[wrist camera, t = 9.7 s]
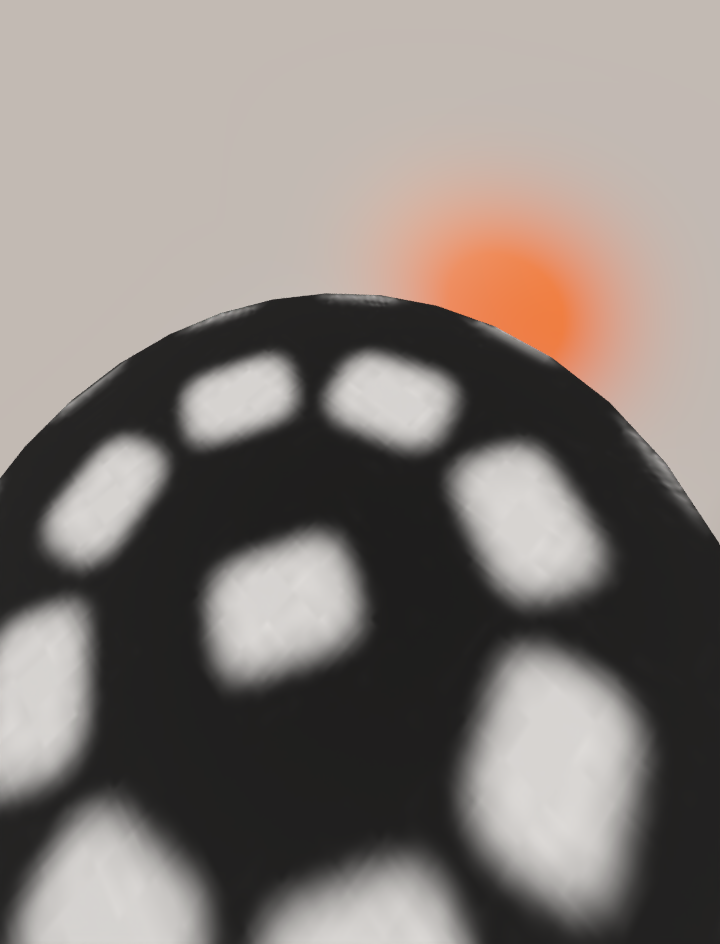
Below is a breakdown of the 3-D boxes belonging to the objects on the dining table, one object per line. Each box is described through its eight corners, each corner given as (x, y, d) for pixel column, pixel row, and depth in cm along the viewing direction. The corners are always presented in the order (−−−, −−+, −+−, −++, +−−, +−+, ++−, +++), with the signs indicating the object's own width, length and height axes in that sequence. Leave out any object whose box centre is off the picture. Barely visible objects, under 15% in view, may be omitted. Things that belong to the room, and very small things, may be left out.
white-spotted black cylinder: (404, 504, 23) (479, 226, 4) (447, 609, 20) (1222, 1166, 1) (310, 538, 23) (-47, 403, 4) (340, 648, 20) (-371, 1844, 1)
